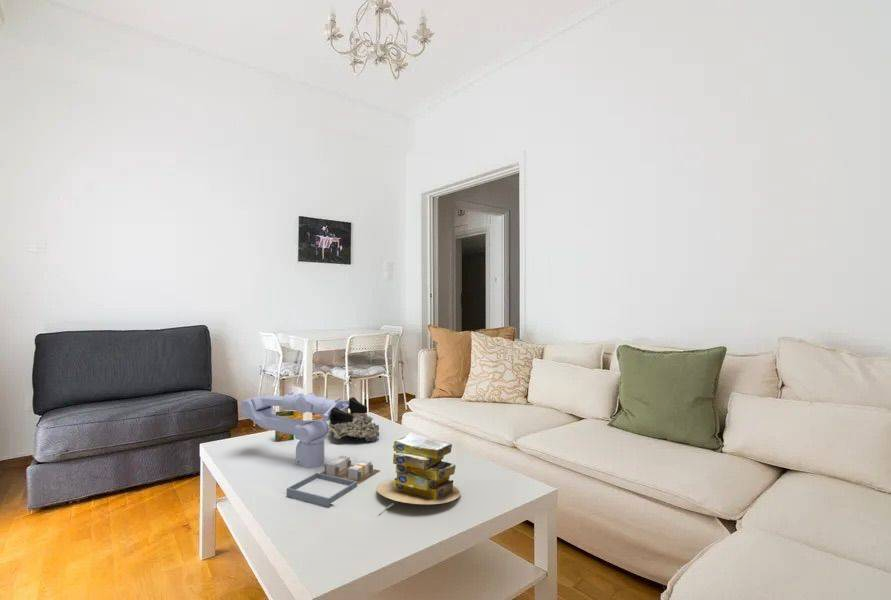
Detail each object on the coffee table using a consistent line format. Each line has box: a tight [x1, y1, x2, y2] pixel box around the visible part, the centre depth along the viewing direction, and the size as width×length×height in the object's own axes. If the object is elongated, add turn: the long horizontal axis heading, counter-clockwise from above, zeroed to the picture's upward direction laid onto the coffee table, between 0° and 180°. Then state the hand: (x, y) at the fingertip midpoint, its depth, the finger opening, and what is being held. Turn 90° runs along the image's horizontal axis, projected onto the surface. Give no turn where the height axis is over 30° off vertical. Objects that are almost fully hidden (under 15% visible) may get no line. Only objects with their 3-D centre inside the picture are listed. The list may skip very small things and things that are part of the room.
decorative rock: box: [328, 411, 380, 443], centre depth 191 cm, size 22×26×10 cm
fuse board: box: [320, 459, 381, 485], centre depth 149 cm, size 17×12×4 cm
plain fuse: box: [325, 455, 351, 475], centre depth 151 cm, size 3×8×3 cm, turn 154°
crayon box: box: [274, 410, 295, 442], centre depth 186 cm, size 7×3×12 cm, turn 111°
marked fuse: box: [348, 459, 372, 480], centre depth 147 cm, size 3×8×3 cm, turn 154°
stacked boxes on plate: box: [375, 431, 461, 505], centre depth 134 cm, size 25×25×17 cm
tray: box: [286, 472, 358, 509], centre depth 136 cm, size 16×13×2 cm
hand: (359, 414), depth 148 cm, fingers open, 7 cm apart
